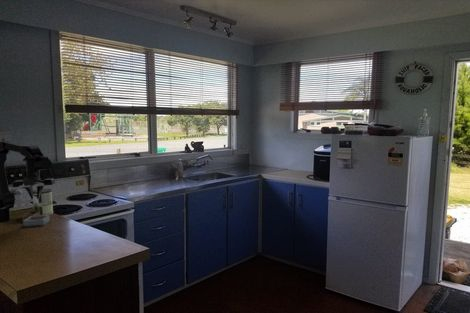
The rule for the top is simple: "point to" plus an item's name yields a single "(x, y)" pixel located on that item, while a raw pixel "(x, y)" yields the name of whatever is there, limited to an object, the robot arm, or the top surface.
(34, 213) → the block
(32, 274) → the top surface
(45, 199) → the coffee can
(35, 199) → the pin
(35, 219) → the pin tray
